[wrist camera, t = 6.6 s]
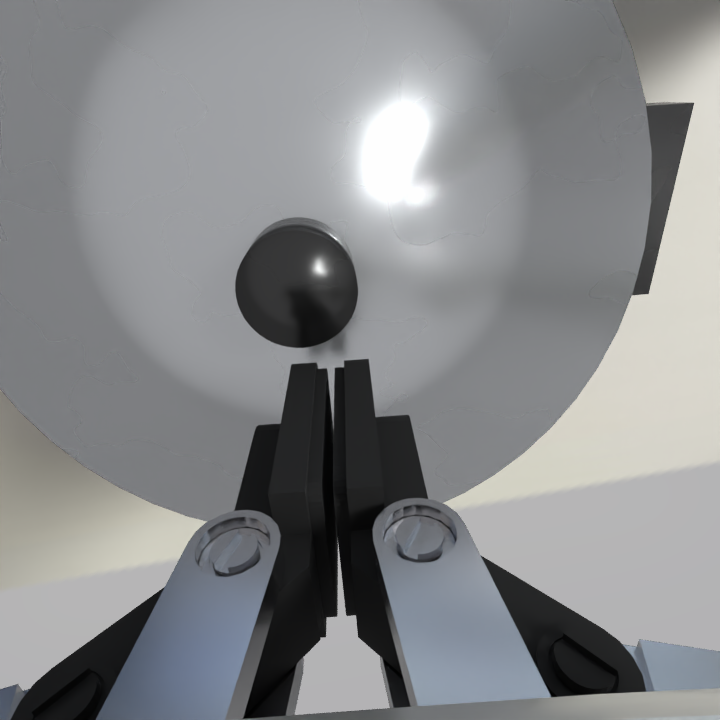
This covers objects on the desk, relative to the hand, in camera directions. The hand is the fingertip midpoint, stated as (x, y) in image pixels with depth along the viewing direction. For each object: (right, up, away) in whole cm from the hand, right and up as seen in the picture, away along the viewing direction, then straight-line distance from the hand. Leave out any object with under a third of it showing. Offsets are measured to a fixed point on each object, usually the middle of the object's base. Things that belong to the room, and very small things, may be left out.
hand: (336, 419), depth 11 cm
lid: (-1, +4, +1) cm, 4 cm away
